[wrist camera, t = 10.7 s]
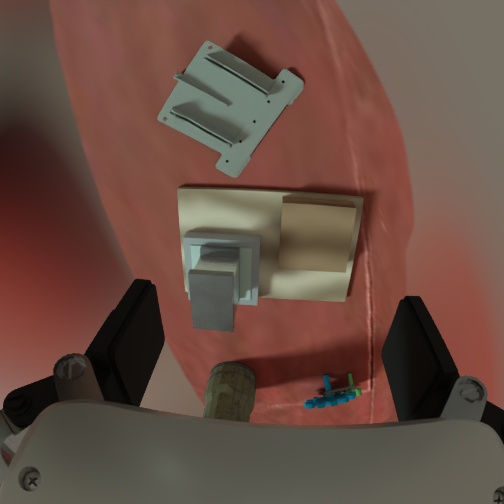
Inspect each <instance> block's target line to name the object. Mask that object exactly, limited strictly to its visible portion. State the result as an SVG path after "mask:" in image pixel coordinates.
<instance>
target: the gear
mask: <svg viewBox="0 0 504 504" xmlns="http://www.w3.org/2000/svg"><path fill="white" fill-rule="evenodd" d="M323 378H324V383H325V389H326V391H324V393H325V395H323V397H315V398H313V399H312V400H306V402H305V403H303V404H304V407H307V409H311V408H315V406H317V408H324V407H325V405H330V406H335V405H338V403H346V402H348V401H349V400H350V399H355V396H360V395H362V393H361V388H357V389H355V388H356V384H353V380H352V374H351V373H349V374H348V379H349V386H345V387H340V388H336V389H332V390H331V386H330V380H329V375H324V376H323ZM346 389H348V390H346ZM342 390H346V391H344V393H343V394H341V392H338V391H342ZM355 391H356V392H355ZM333 392H337V393H334V394H335V395H334V394H333Z"/></svg>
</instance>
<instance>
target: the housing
mask: <svg viewBox="0 0 504 504" xmlns="http://www.w3.org/2000/svg"><path fill="white" fill-rule="evenodd" d="M188 281H189V291H190V301H191V310H192V319H193V328H198V329H208V330H218V331H230V332H233V331H234V319H235V314H236V309H237V304H238V303H239V300H240V248H238V247H221V246H203V245H202V246H201V248H200V257H199V260H198V262H197V264H196V266H195V268H194V269H190V270H189V272H188Z"/></svg>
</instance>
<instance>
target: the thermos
mask: <svg viewBox="0 0 504 504" xmlns="http://www.w3.org/2000/svg"><path fill="white" fill-rule="evenodd" d="M255 381H256V376H255V373H254V372H253V371H252V369H250V368H249V367H247V366H246V365H243V364H240V363H236V362H223V363H220V364H217V365H216V366H214V367H213V369H212V370H211V376H210V379H209V380H208V383H207V387H206V391H205V395H204V400H205V409H204V414H203V418H211V419H219V420H228V421H239V422H249V419H250V414H251V412H252V410H253V407H254V401H255V392H256V387H255Z"/></svg>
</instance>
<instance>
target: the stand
mask: <svg viewBox="0 0 504 504" xmlns="http://www.w3.org/2000/svg"><path fill="white" fill-rule="evenodd" d="M356 210H357V208H356V206H355V205H354V203H353V202H351V201H339V200H327V199H314V198H300V197H285V196H282V211H281V227H280V241H279V256H278V269H288V270H305V271H323V272H341V273H346V268H347V263H348V258H349V252H350V247H351V241H352V235H353V229H354V223H355V217H356Z"/></svg>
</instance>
